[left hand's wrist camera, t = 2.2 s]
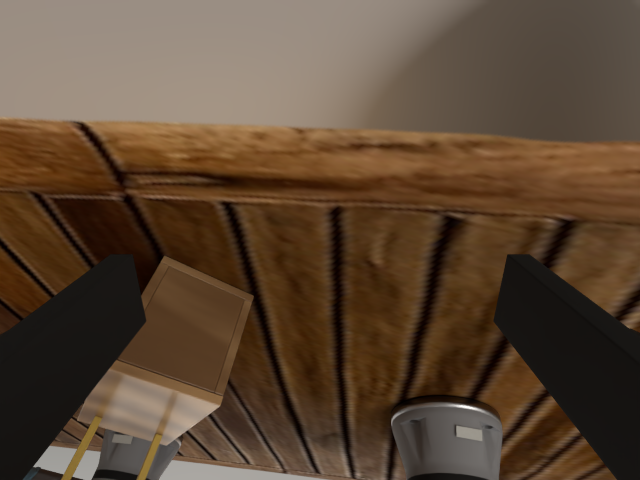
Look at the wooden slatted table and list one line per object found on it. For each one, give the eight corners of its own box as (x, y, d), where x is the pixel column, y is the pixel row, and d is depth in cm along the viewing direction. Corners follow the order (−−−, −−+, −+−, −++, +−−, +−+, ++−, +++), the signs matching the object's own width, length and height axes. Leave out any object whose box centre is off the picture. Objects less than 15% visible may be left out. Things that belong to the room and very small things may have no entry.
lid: (169, 438, 40) (134, 530, 35) (81, 412, 38) (26, 509, 32) (223, 396, 30) (185, 520, 24) (106, 355, 27) (30, 486, 21)
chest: (203, 351, 47) (171, 436, 40) (130, 324, 44) (82, 410, 37) (254, 295, 37) (223, 395, 30) (164, 255, 34) (106, 355, 27)
